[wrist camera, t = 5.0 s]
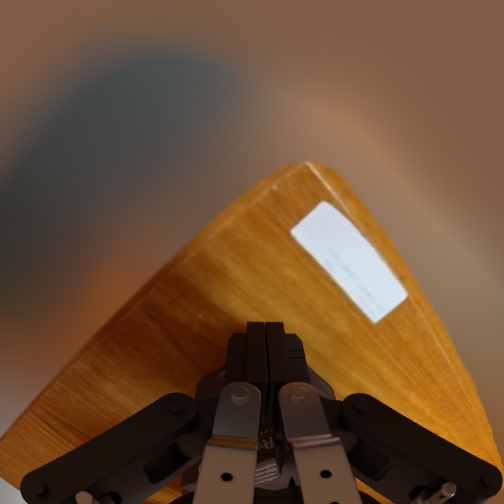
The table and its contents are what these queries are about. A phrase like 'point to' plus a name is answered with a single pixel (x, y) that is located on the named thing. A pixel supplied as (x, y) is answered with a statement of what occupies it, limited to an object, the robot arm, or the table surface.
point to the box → (265, 453)
